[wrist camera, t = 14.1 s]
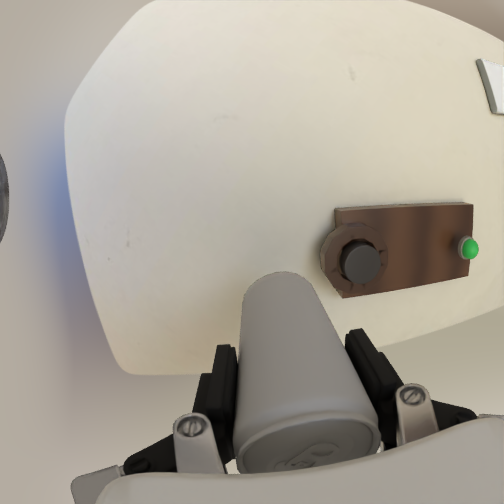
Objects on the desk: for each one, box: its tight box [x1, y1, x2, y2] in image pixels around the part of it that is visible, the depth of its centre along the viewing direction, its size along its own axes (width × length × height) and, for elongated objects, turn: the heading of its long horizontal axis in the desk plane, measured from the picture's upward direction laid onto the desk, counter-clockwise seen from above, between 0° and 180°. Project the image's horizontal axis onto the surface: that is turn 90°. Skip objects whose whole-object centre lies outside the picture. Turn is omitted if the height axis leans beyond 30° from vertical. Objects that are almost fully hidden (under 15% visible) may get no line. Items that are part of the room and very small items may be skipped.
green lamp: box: [458, 236, 479, 260], centre depth 23 cm, size 3×3×2 cm
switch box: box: [320, 202, 473, 298], centre depth 26 cm, size 20×9×4 cm, turn 96°
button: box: [339, 241, 381, 284], centre depth 24 cm, size 4×4×2 cm
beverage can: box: [233, 272, 381, 474], centre depth 12 cm, size 5×5×12 cm
